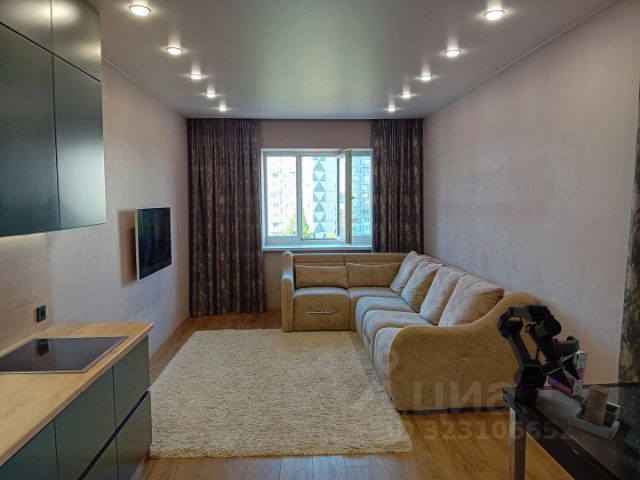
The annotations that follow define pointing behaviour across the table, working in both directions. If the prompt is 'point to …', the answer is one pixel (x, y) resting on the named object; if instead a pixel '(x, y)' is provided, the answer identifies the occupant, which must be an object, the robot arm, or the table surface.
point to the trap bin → (610, 413)
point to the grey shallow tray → (592, 425)
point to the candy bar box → (577, 384)
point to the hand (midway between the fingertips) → (575, 383)
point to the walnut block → (596, 405)
